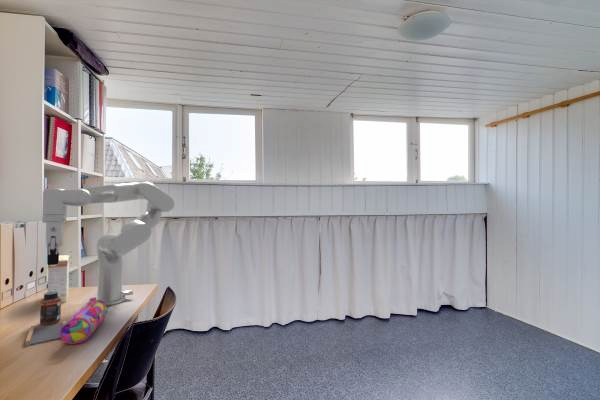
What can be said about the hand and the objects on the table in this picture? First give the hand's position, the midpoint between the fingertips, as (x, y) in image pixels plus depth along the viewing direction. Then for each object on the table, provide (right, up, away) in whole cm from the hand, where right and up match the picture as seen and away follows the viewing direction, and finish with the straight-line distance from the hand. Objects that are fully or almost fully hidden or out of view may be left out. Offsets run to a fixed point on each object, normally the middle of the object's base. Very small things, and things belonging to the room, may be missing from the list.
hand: (53, 263), depth 116 cm
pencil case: (+23, -22, -13) cm, 35 cm away
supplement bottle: (+5, -21, -7) cm, 23 cm away
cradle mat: (+12, -21, -16) cm, 29 cm away
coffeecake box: (-14, -21, +19) cm, 32 cm away
